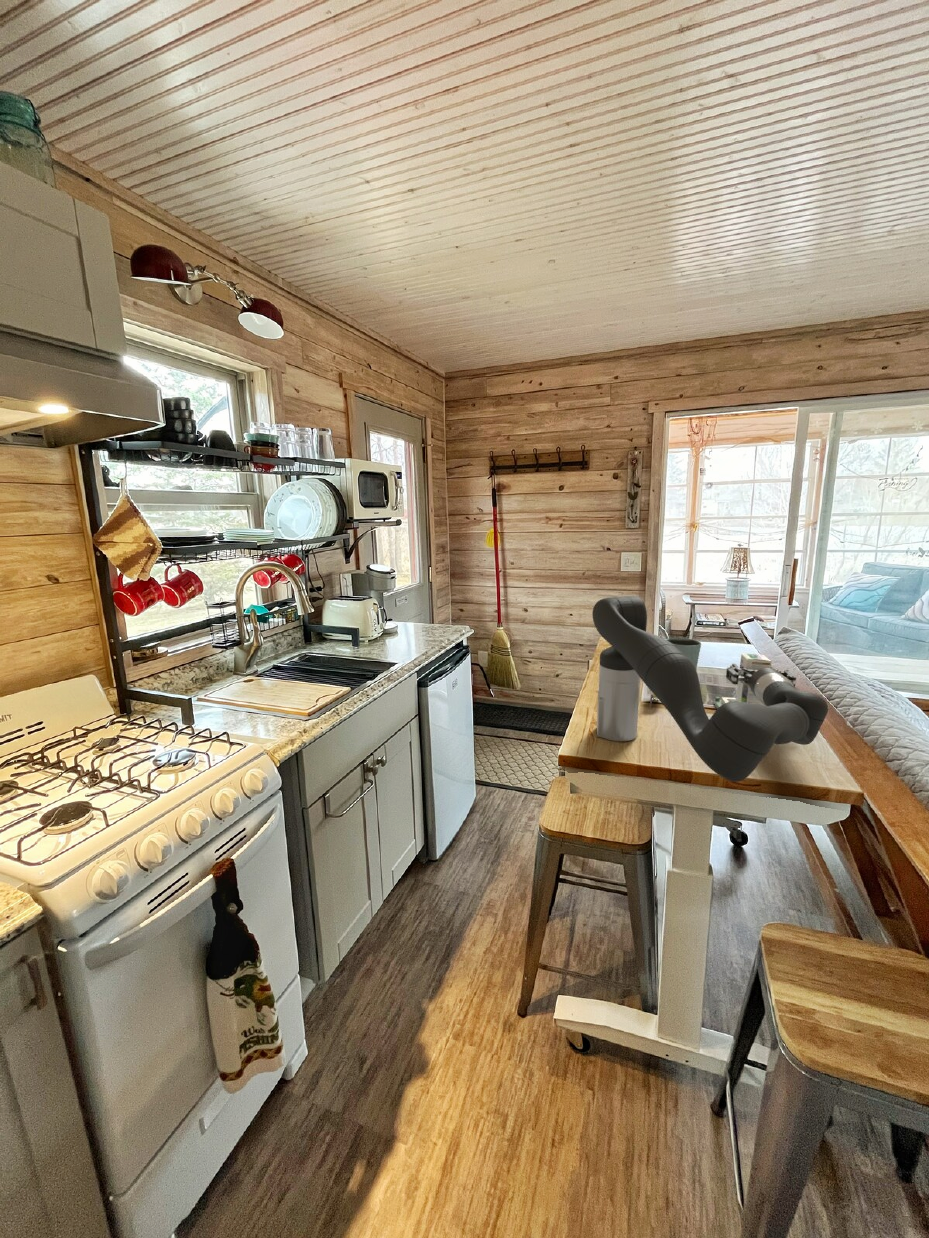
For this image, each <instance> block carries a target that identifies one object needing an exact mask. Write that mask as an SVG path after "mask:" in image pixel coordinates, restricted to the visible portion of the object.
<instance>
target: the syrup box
mask: <svg viewBox="0 0 929 1238" xmlns="http://www.w3.org/2000/svg"><path fill="white" fill-rule="evenodd" d="M772 662H773V661H772V660H771V659H769V658H768V657H767V656H766V655H765V654H759V653H749V652H748V653H741V655H740V663H739V668H741V669H743V668H748V669H752V670H760V669H763V668H771V665H772ZM748 673H749V672H747V674H748ZM739 676H741V672H740V671H739ZM736 685H737V687H736V693H735V694H736V695H735V698H736V701H737V702H747V703H754V704H760V705H764V704H763V703H762V702H761V701H760V700H759V699H758V698H757V697H756V696H755V694H754V693H753V692H752V691H751V689H750V687H749V685H748V684H746V683H744V682H741V681H738V684H736Z"/></svg>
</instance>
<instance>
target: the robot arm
mask: <svg viewBox="0 0 929 1238" xmlns="http://www.w3.org/2000/svg"><path fill="white" fill-rule="evenodd" d="M591 615H592V622H593V624H594V627H595V629H596V631H597V632H598V634H599V635H600V636H601V637H602V638H603V639H604V640H605V641H606V642H607V643H608V644H609V645H610V646H609V647H606V648H605V649H602V651H601V652H600V654H599V667H598V668H599V669H598V671H599V672H598V690H597V708H596V709H597V710H596V737H597V738H603V739H604V740H609V741H614V742H629V741H633V740H635V739H636V738H637V737H638V736H637V735H638V729H639V728H638V725H639V724H638V723H639V721H638V719H639V701H640V687H641V686H640V684H641V683H640V682H641V680H642V682H643V683H644V684H645V686H646V687H647V689H648V688H649V689H650V690H651V691H652V692H653V693H654V694H655V696H656V697H657V698H658V699H659V700H658V701H659V702H660V703H661V704H662V705H663V707H665V710H667V711H668V713H669V715H671V717H672V718H673V720H674V721H675V723H676V724H677V726H678V727H679V729H680V731H681V732H682V733H683V735H684V737H685V738H686V739H687V742H688V743H689V744H690V746H691V747H692V749H693V750H694V751H695V753H696V754H697V756H698V757H699V758H700V759H701V761H702V762H703V763H704V764H705V765H706V767H708V768H710V770H712V771H713V772H714V773H715V774H717V775H718V776H720V777H721V778H723V779H724V780H727V781H730V782H735V783H739V782H742V781H743V780H745V779H746V778H748V777H749V776H750V775H751V774H752V773H753V772H754V771H755V770H756V768H757V767H758V766H759V764H760V763H761V762H762V760H763V759H764V758H765V757H766V755H767V754H768V753H769V752H770V751H771V749H772V748H773V745H786V744H790V743H795V744H796V745H797V744H798V745H802V746H804V745H805V746H807V745H809V744H812V743H813V742H814V740H815V739H816V737H817V736H818V733H819V731H820V730H821V728H822V725H823V723H824V722H825V719H826V717H827V715H828V713H829V704H828V703H827V701H826V700H825V699H824V698H823V697H822V696H820V695H818V694H816V693H814V692H810V691H807V690H801V689H798V688H797V687H796V682H797V676H796V675H794V673H793V672H792V671H790V670H789V669H785V670H784V671H783V670H781V669H780V668H776V667H775V666H773V665H772V664H771V668H763V669H760V670H752V669H748V668H743V669H741V668H740V666H738V665H737V664H736V663H732V664H731V665H730V666H729V667H726V671H725V673H726V675H725V678H726V679H727V681H729V682H730V683H731V684H732V685H735V686H736V685H738V681H741V682H744V683H746V684H748V685H749V687H750V689H751V691H752V692H753V693H754V694H755V696H756V697H757V698H758V699H759V700H760V701H761V702H762V703H763V704H764V705H760V704H754V703H747V702H737V701H734V702H727V703H725V704H723V705H721V706H720V707H719V708H718V709H717V708H716V710H715V711H714V713H713V714H712V716H710V718H709V716H708V714H707V712H706V710H705V706H704V701H703V696H702V689H701V684H700V679H699V675H698V672H697V671H698V670H697V669H695V667H694V665H693V663H692V662H691V661H690V660H689V659H688V658H687V657H686V656H685V655H684V654H683V653H682V652H681V651H680V650H679V649H678V648H677V647H676V646H675V645H674V644H672V643H671V642H669V641H667V639H665V638H663V637H661V636H658V635H656V634H653V633H651V632H648V631H647V623H648V611H647V607H646V604H645V602H644V601H643V599H642V598H641V597H639V596H637V595H635V596H634V595H633V596H631V595H630V596H614V597H613V596H612V597H604V598H602V599H600V600H597V601H596V603H595V604H594V606H593V608H592V614H591ZM696 670H697V671H696ZM739 671H740V672H741V676H739ZM747 672H749V673H748V674H747Z"/></svg>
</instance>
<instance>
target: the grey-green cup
mask: <svg viewBox="0 0 929 1238" xmlns="http://www.w3.org/2000/svg"><path fill="white" fill-rule="evenodd" d="M666 640H667V641H669V642H671V643H672V644H674V645H675V646H676V647H677V648H678V649H679V650H680V651H681V652H682V653H683V654H684V655H685V656H686V657H687V658H688V659H689V660H690V661H691V662H692V663H693V665H694V667H695V669H696V671H698V669H697V667H698V662H699V659H700V652H701V647H702V642H701V641H699V640H696V639H692V638H687V637H686V638H683V637H671V638H667V639H666Z"/></svg>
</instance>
